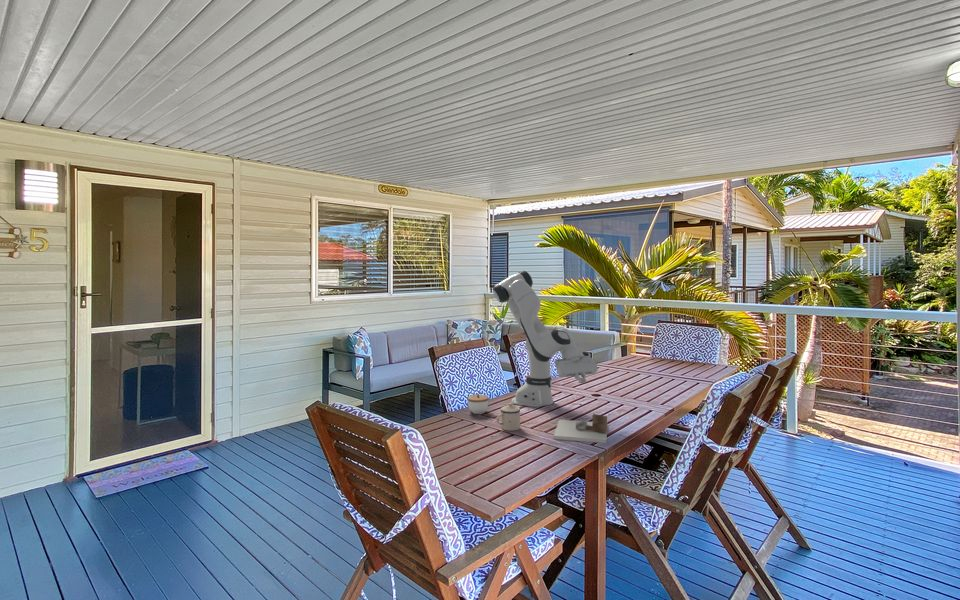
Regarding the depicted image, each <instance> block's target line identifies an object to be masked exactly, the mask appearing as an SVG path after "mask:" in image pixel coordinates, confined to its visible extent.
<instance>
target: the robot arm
mask: <svg viewBox="0 0 960 600" xmlns="http://www.w3.org/2000/svg"><path fill="white" fill-rule="evenodd" d="M532 287H533V278H532V276H531V274H529V272H527V271H526V270H521V271H518V272H517V273H513V274H512V275H509V276H508V277H507V278H505V279H503V280H502V281H499V283H496V284H495V285H494V286H493V287H492V292H493V297H494V299H496V300H497V302H499V303H501V304H503V303H507V305H508V308H509V310H510V312H511V314H512V316H513V318H514V319H515V321H516V323H517V324H518V326H519V328H520V329H522V330H523V332H524V334H525V336H526V340H525V342H524V343H525V348H526V349H527V355H528V362H529V374H527V375H526V377H525V383H524V384H523V385H521V386H520V387H519V388H518V389H517V390H516V392H515V396H514V397H512V398H511V403H512V404H513V405H518V406H526V407H535V408H540V407H544V406H550V405H552V404H554V399H553V396H552V395H553V394H552V376H551V361H550V360H551V358H553V356H555V355H556V354H557V353H558V352H560V353H561V358H557V359H556V360H555V361H554V366H555V367H556V372H557V376H558V377H560V378H569V377H574V379H576V380H577V381H578V383H579V384H584V383H585V384H586V382H587V379H586V376H587V375H589V376H590V375H596V373H597V372H598V369H599V368H598V365H597V363H596V362H595V359H594V358H592V357H591V353H590V352H587V351H584V350H583V351H582V350H579V348H578V346H577V344H576V341H575V339H574V337H573V335H572V333H571V332H570V331H569V330H568V329H567V328H564V327H561V328H558V329H552V330H548V328H547V327H546V325H545V324H544V323H543V322H542V320H541V319H540V318H539V316H538V314H539V312H540V309H541V301H540V300H541V299H540V298H539V296H538V295H537V294H536V292H535V290H534V289H533V288H532Z"/></svg>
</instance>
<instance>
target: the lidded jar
mask: <svg viewBox="0 0 960 600" xmlns="http://www.w3.org/2000/svg"><path fill="white" fill-rule="evenodd" d="M489 398H490V397H489V396H488V395H486V394H479V393H477V394H473V395H469V396H468V397H467V404H468V408H469V410H470V411H471V412H472V414H475V415H482V414H484V413H485V412H486V411H487V409H488V406H489V401H490V399H489Z"/></svg>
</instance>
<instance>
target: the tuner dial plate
mask: <svg viewBox="0 0 960 600" xmlns="http://www.w3.org/2000/svg"><path fill="white" fill-rule="evenodd" d="M576 421H577V420H567V419H559V420H558V423H557V425H556V428H555V431H554V434H553V440H560V441H561V440H562V441H573V442H576V441H577V442H587V443H588V442H589V443H597V444H599V443H601V444H607V440H606V439H607V436H608V432H607V433H602V432H596V431H591V430H579V429H576ZM586 422H587V425H589V426H592V421H586Z"/></svg>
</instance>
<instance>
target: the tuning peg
mask: <svg viewBox="0 0 960 600" xmlns="http://www.w3.org/2000/svg"><path fill="white" fill-rule="evenodd" d="M591 416H592V420H591V422H592V426H589V425H587V422H588V421H585V420H575V421H576V429H579V430H591V431H596V432H602V433H607V434H608V416H607V415H602V414H595V413H593V414H592V415H591Z"/></svg>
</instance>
